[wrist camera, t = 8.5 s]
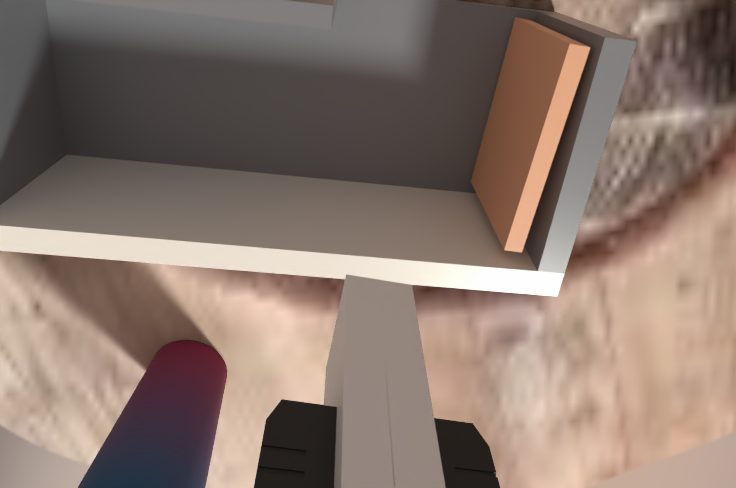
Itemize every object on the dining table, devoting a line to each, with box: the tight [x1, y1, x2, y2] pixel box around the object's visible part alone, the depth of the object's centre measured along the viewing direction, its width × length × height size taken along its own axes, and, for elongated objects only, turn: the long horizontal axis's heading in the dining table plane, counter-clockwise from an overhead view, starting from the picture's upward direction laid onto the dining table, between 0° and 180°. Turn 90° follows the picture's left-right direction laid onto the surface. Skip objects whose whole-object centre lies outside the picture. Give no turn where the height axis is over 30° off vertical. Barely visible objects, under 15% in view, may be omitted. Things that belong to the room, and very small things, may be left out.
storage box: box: [0, 0, 637, 296], centre depth 27 cm, size 26×11×10 cm, turn 84°
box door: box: [471, 17, 591, 253], centre depth 27 cm, size 9×1×8 cm, turn 171°
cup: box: [78, 340, 227, 488], centre depth 33 cm, size 7×7×15 cm
